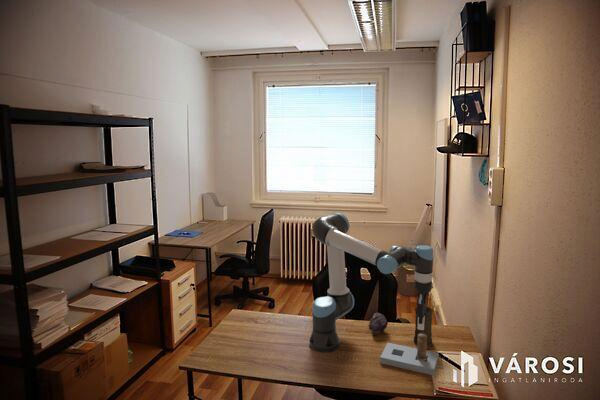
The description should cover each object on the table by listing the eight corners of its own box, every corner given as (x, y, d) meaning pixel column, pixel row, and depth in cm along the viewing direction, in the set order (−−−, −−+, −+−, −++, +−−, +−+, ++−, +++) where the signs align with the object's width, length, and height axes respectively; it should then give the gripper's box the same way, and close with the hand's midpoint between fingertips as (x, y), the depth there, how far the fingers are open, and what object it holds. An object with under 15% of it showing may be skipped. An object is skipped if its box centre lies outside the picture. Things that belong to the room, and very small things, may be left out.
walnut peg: (416, 365, 190) (416, 336, 187) (417, 360, 193) (418, 332, 191) (425, 367, 188) (426, 338, 186) (426, 362, 192) (427, 334, 189)
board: (380, 362, 192) (380, 357, 192) (387, 348, 204) (387, 342, 204) (433, 375, 182) (434, 369, 181) (438, 359, 194) (438, 353, 194)
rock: (369, 337, 217) (388, 337, 216) (369, 323, 215) (388, 324, 213) (368, 323, 228) (386, 323, 227) (368, 310, 226) (386, 310, 224)
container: (433, 348, 203) (434, 314, 200) (414, 346, 205) (415, 312, 202) (431, 339, 212) (432, 306, 209) (413, 337, 214) (414, 305, 211)
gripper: (429, 287, 177) (426, 337, 182) (434, 276, 188) (431, 324, 193) (411, 284, 180) (409, 333, 185) (417, 274, 192) (415, 321, 196)
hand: (420, 328), depth 189 cm, fingers closed
